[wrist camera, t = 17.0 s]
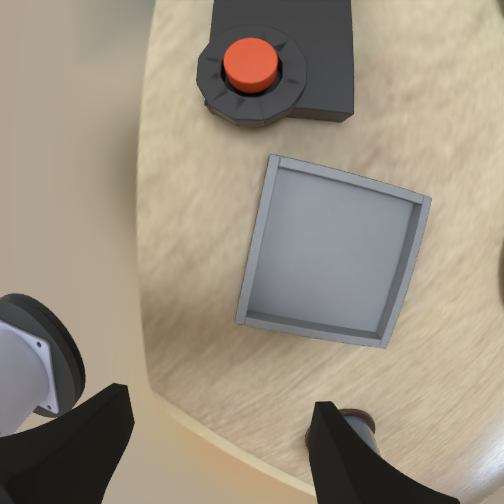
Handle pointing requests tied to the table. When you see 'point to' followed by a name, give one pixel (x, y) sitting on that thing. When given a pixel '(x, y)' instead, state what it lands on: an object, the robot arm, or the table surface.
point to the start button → (251, 65)
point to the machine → (283, 60)
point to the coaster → (351, 413)
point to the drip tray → (330, 254)
